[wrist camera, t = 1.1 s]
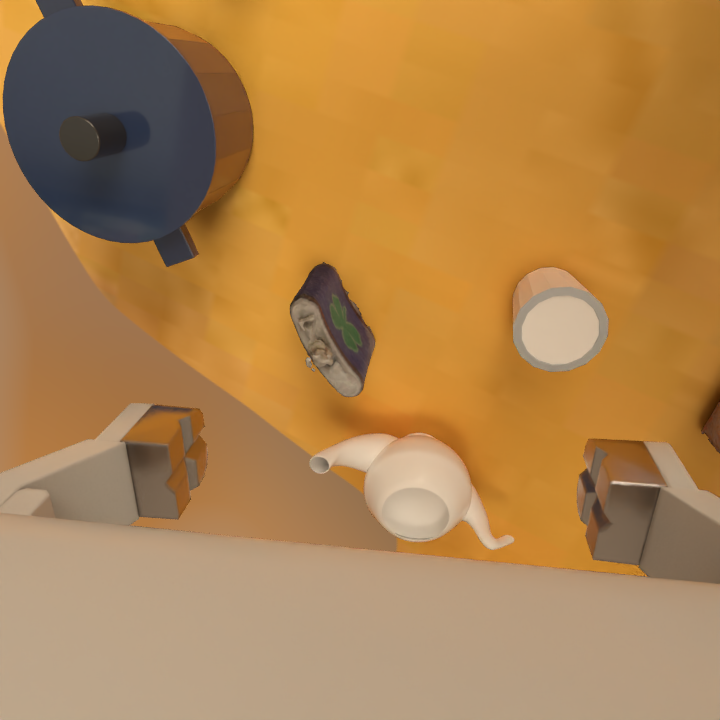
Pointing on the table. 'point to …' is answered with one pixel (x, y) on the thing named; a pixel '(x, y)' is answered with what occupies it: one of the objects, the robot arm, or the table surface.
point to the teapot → (413, 485)
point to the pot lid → (110, 124)
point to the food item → (713, 428)
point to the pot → (228, 115)
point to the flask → (332, 330)
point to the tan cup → (557, 321)
